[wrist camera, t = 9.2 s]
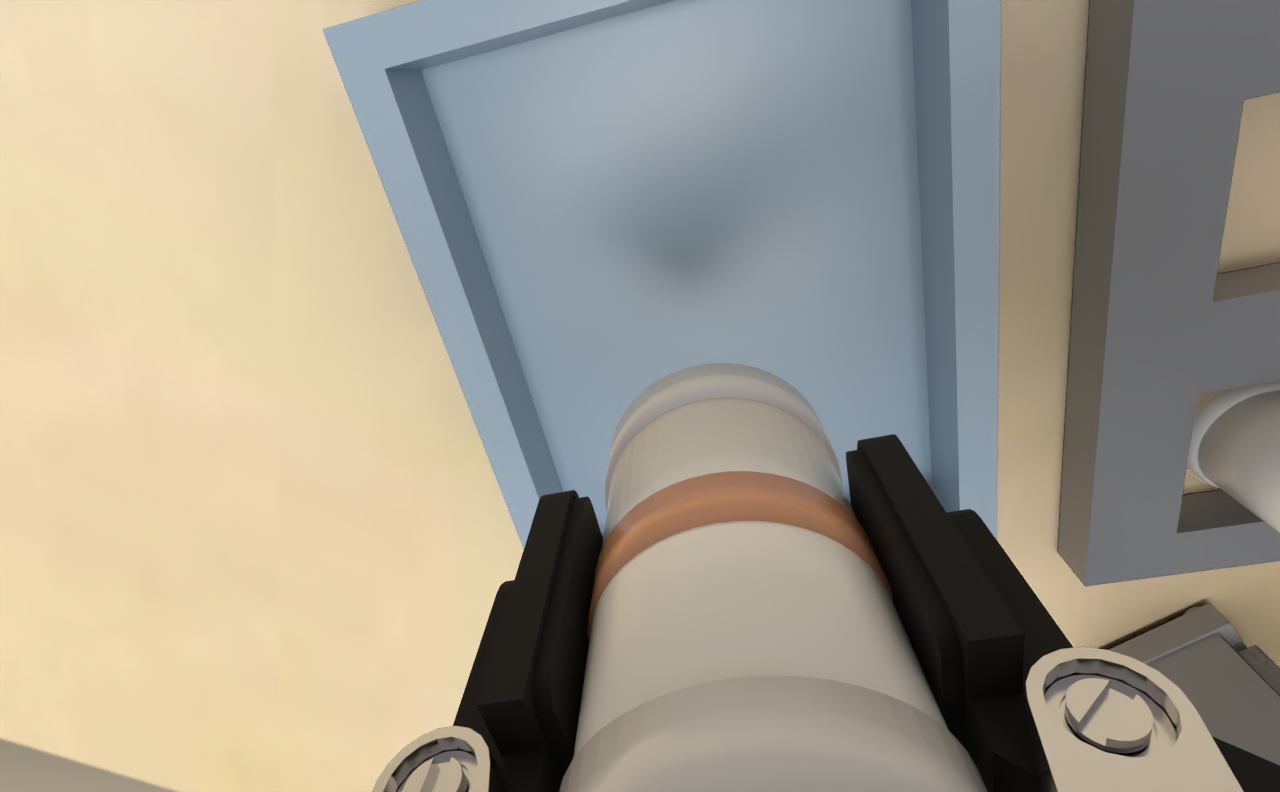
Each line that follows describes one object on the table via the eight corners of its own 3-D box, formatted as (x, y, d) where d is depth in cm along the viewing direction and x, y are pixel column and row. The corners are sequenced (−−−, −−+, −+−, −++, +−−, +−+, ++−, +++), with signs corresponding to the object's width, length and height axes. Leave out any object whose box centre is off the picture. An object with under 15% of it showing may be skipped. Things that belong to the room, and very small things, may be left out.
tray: (942, -124, 17) (1002, -170, 14) (957, 490, 26) (996, 547, 22) (379, 37, 20) (322, 29, 16) (562, 551, 28) (547, 611, 25)
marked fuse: (814, 342, 11) (1066, 790, 4) (837, 530, 13) (1042, 1069, 6) (585, 387, 12) (462, 850, 5) (637, 561, 14) (604, 1090, 7)
